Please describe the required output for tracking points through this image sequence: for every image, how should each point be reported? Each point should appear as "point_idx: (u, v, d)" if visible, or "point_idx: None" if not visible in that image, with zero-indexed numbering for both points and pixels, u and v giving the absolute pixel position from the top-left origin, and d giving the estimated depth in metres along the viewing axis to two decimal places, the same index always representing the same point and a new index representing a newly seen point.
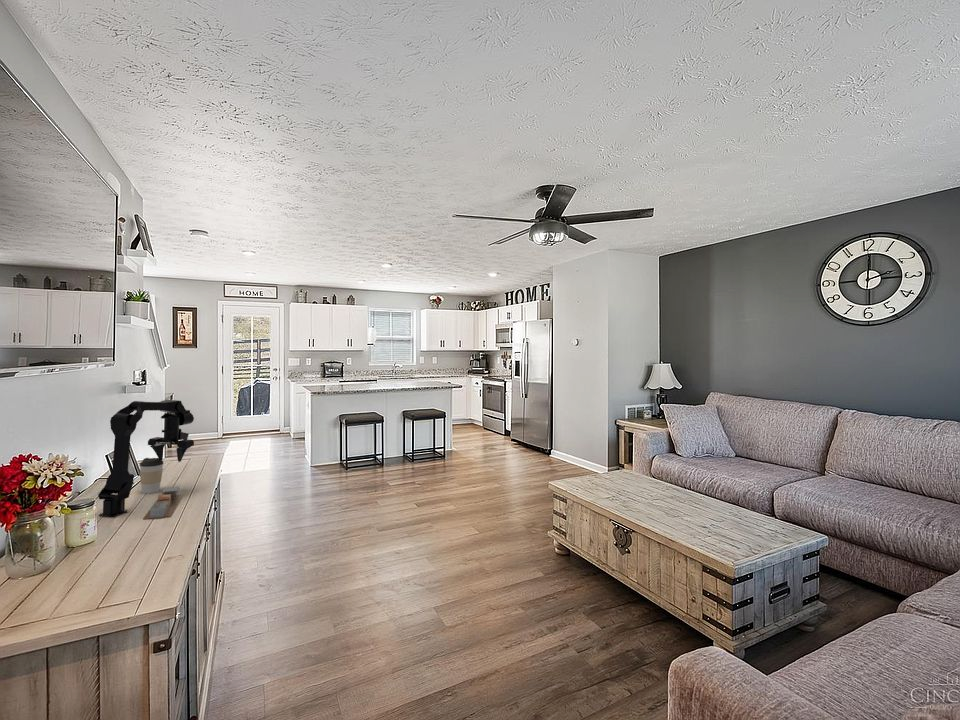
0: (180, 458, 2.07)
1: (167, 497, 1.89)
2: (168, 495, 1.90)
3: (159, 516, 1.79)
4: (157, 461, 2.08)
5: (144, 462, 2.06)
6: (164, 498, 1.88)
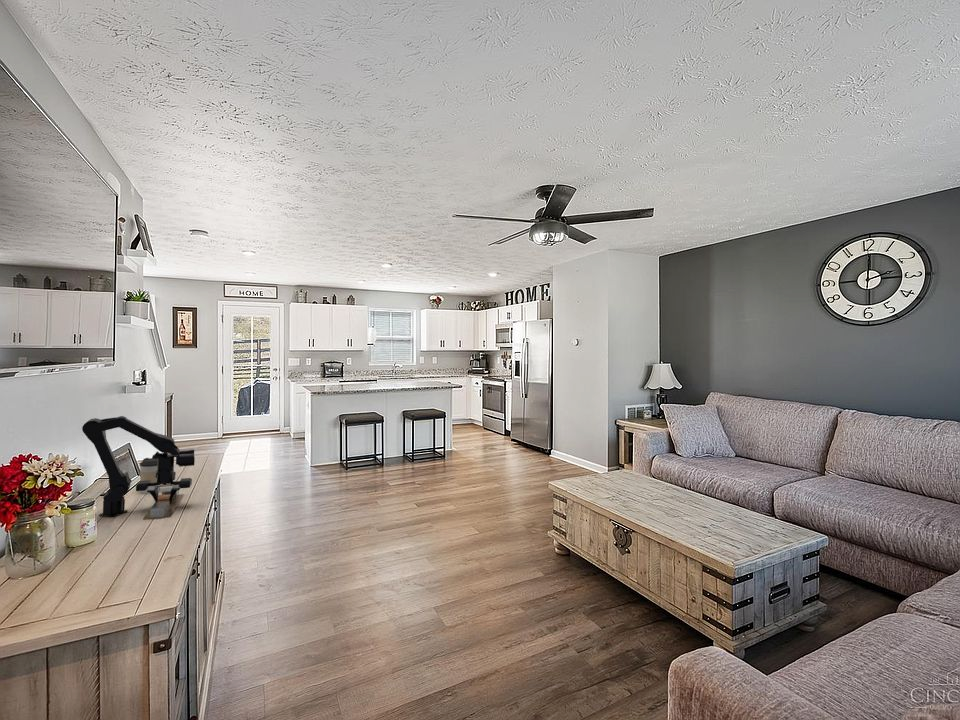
0: None
1: (167, 497, 1.89)
2: (168, 495, 1.90)
3: (159, 516, 1.79)
4: (157, 461, 2.08)
5: (144, 462, 2.06)
6: (164, 498, 1.88)
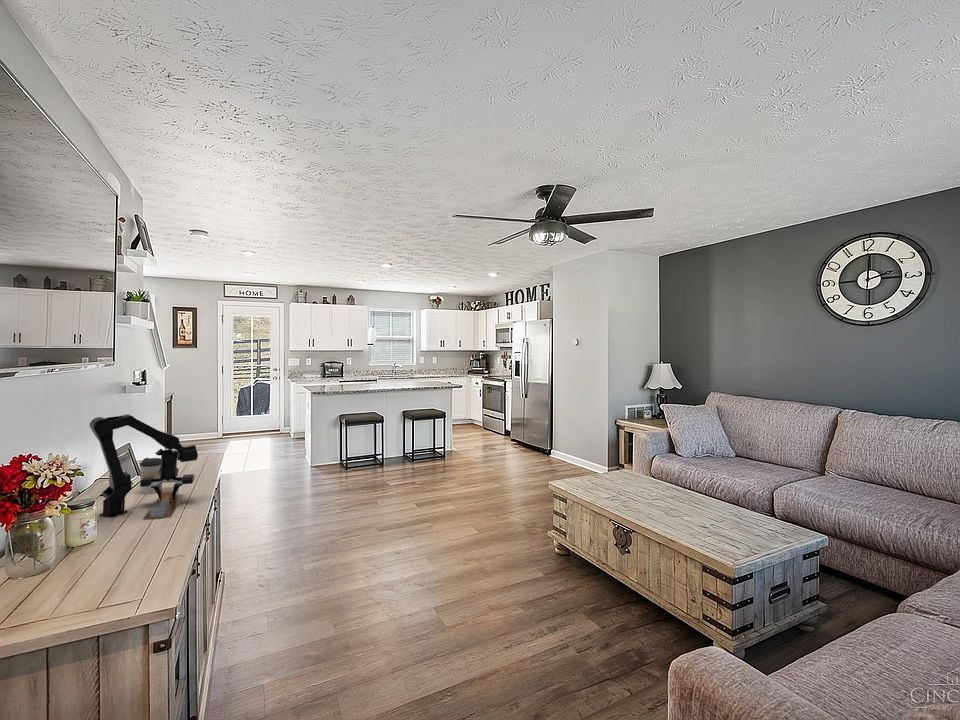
0: None
1: (170, 493, 1.94)
2: (171, 491, 1.95)
3: (159, 516, 1.79)
4: (157, 461, 2.08)
5: (144, 462, 2.06)
6: (167, 493, 1.94)
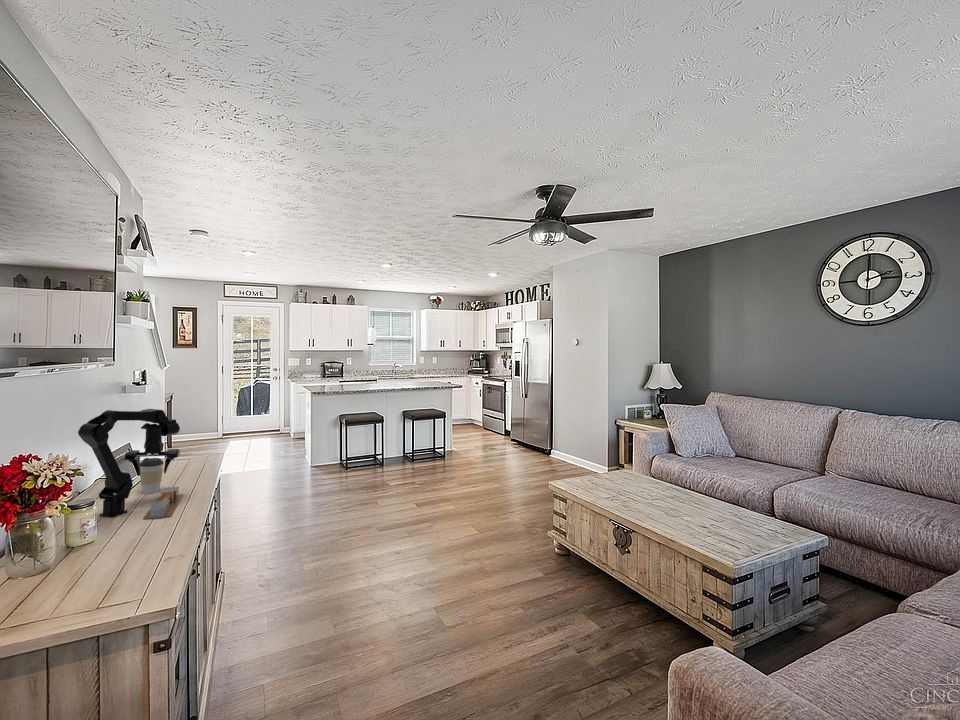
0: (166, 469, 1.98)
1: (170, 492, 1.94)
2: (171, 491, 1.96)
3: (159, 516, 1.79)
4: (157, 461, 2.08)
5: (144, 462, 2.06)
6: (167, 493, 1.94)
